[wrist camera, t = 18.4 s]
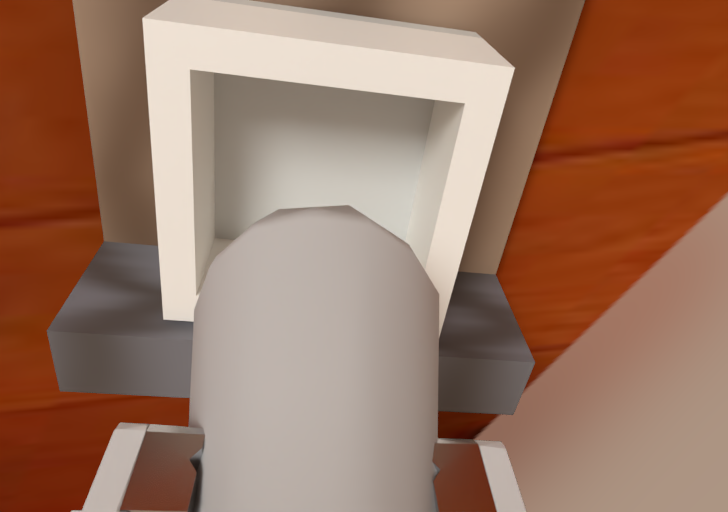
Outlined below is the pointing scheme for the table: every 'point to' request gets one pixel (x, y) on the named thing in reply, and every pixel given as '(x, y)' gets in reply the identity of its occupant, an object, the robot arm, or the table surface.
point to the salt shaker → (316, 369)
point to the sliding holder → (313, 129)
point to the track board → (139, 226)
